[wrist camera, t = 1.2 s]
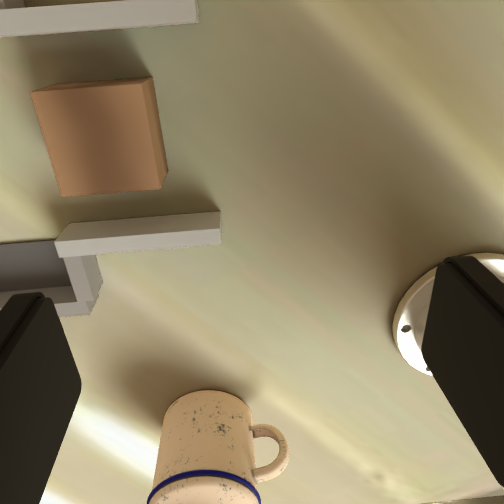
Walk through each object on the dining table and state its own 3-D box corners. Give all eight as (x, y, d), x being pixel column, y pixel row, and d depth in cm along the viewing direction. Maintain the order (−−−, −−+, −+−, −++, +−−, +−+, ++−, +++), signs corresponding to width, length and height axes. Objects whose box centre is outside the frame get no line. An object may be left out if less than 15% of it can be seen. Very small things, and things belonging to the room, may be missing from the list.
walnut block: (153, 76, 26) (141, 83, 22) (168, 169, 29) (160, 189, 25) (56, 83, 26) (29, 91, 22) (82, 176, 28) (61, 196, 25)
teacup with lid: (183, 458, 43) (169, 592, 33) (145, 400, 39) (116, 534, 28) (293, 429, 42) (315, 559, 31) (267, 366, 37) (282, 493, 27)
